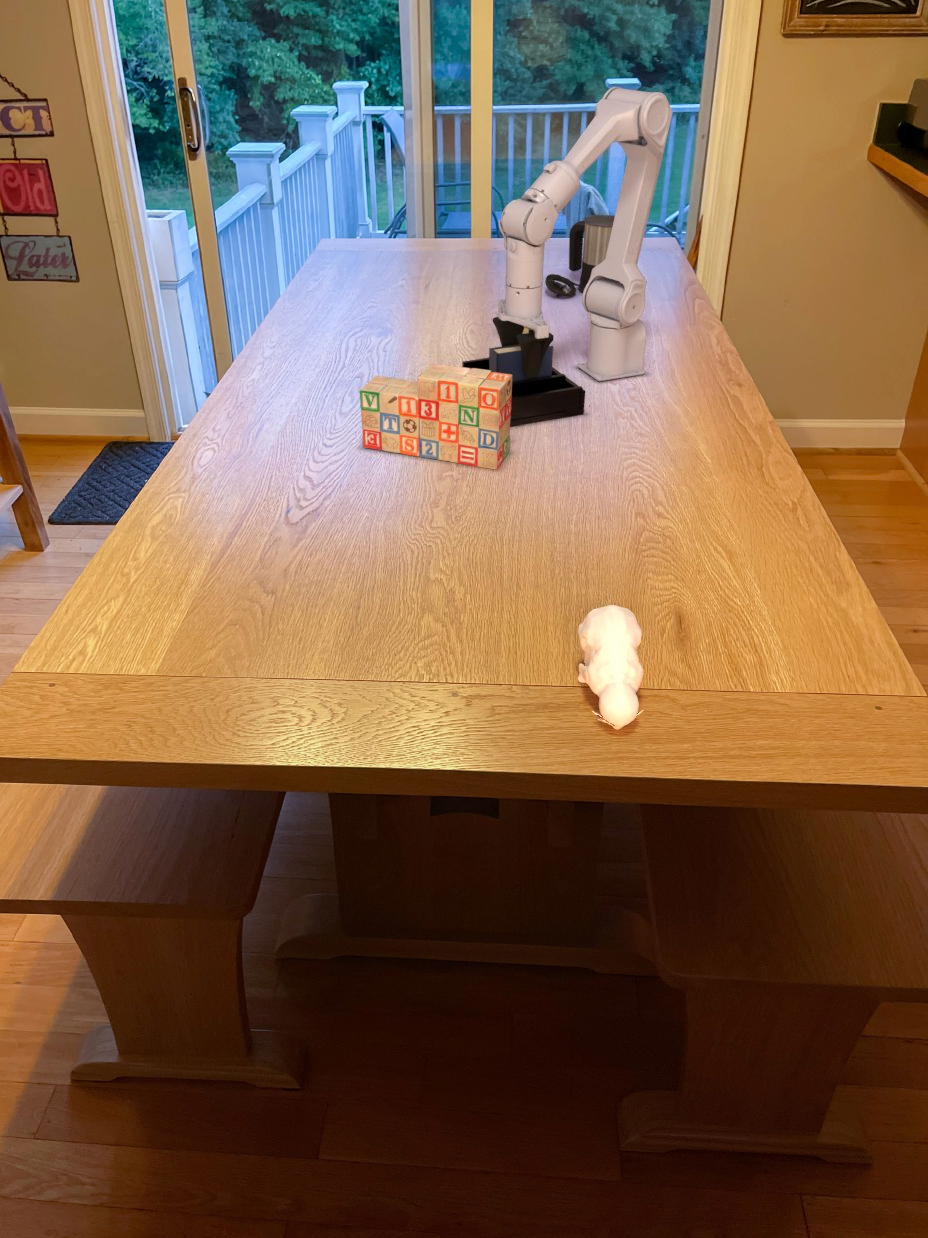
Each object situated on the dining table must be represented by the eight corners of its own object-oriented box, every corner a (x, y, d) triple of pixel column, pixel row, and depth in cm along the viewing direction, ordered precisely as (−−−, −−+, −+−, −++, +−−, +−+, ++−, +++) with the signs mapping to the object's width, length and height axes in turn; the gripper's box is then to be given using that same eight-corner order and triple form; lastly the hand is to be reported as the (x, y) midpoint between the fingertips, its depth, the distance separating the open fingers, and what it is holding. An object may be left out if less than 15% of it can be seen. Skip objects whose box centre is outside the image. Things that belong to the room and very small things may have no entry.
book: (542, 386, 163) (545, 340, 158) (550, 393, 160) (553, 345, 156) (488, 395, 159) (489, 348, 155) (495, 402, 157) (496, 354, 153)
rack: (533, 375, 170) (534, 350, 167) (583, 414, 156) (585, 387, 153) (459, 386, 165) (459, 361, 163) (504, 427, 151) (505, 400, 149)
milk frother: (628, 288, 213) (635, 217, 205) (596, 306, 202) (602, 232, 194) (570, 278, 219) (575, 209, 211) (537, 295, 208) (540, 223, 200)
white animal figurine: (642, 595, 96) (663, 679, 87) (632, 658, 102) (650, 743, 93) (579, 596, 96) (593, 680, 87) (572, 659, 102) (585, 744, 92)
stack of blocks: (361, 448, 145) (357, 369, 138) (378, 432, 150) (374, 354, 143) (498, 470, 139) (500, 388, 132) (510, 452, 144) (513, 372, 137)
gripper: (481, 274, 154) (480, 357, 162) (520, 299, 143) (517, 387, 151) (521, 269, 156) (518, 351, 164) (563, 294, 145) (558, 381, 153)
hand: (520, 368), depth 157 cm, fingers open, 7 cm apart
